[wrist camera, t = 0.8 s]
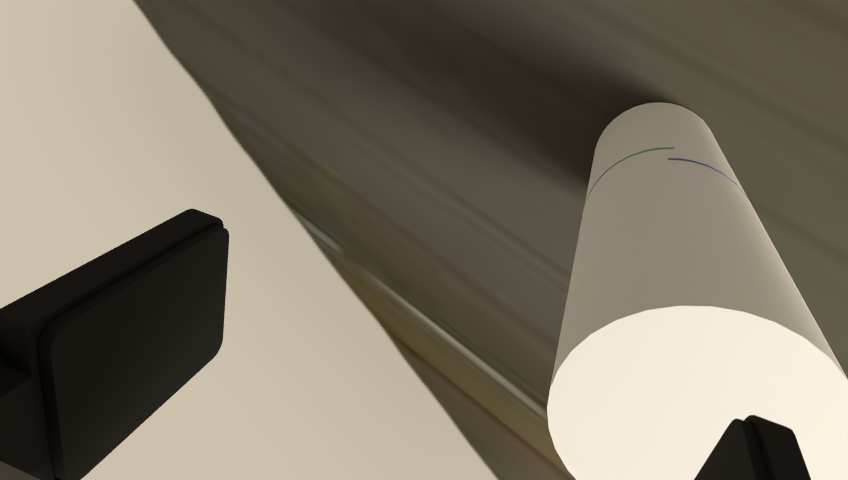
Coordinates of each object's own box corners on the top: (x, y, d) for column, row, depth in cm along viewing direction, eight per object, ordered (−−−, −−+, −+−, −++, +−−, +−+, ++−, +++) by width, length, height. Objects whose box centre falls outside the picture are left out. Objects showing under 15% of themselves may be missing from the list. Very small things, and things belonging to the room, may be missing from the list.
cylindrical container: (694, 225, 37) (789, 574, 15) (581, 199, 39) (523, 483, 17) (734, 115, 34) (926, 357, 12) (610, 92, 35) (583, 271, 14)
